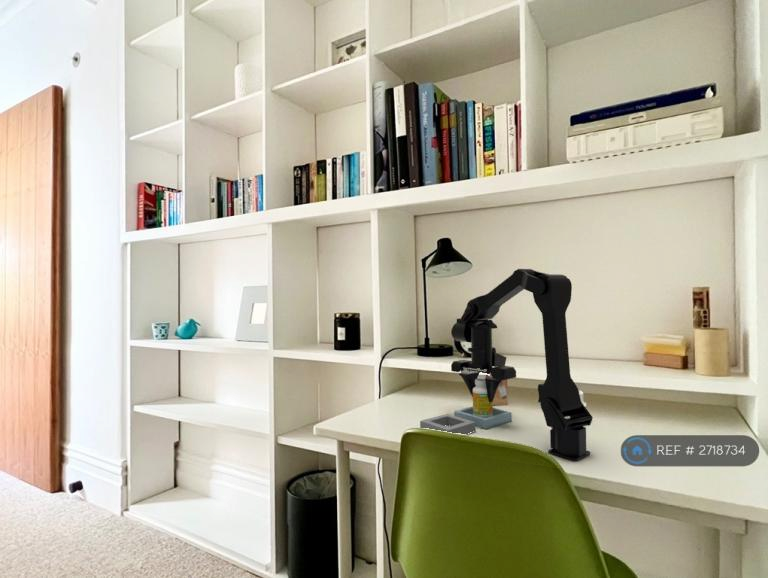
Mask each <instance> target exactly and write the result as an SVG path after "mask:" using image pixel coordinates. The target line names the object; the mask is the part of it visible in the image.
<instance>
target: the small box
mask: <svg viewBox="0 0 768 578" xmlns="http://www.w3.org/2000/svg"><path fill="white" fill-rule="evenodd" d="M485 378H490V376H488V375H478V377H477V379H485ZM508 394H509V393H508V379H507V380H502V381H501V382H500V384H499V386H498V388H497V391H496V393H495V396H494V399H493V406H503V405H504V406H505V405H508V403H509V402H508V400H509V399H508Z"/></svg>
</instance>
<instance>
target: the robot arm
mask: <svg viewBox="0 0 768 578" xmlns="http://www.w3.org/2000/svg"><path fill="white" fill-rule="evenodd" d="M572 286H573V284H572V282H571V279H570V278H568V277H567V276H566V275H565V274H549V273H545V272H540V271H536V270H534V269H532V268H517V269H516V270H514V271H513V272H512V274H511V275H509V276H508V277H507V278H505V279H504V280H502V281H501V283H500V284H498V285H497V286H495V287H494V288H493V289H492V290H490V291H489V292H488V293H485V294H483V295H480V296H476V297H475V298H472V299H470V300H469V301H468V302H467V304H466V306H465V307H466V308H465V309H464V312H463V314H462V316H461V318H456V322H455V323H454V324H453V326H452V328H451V332H450V333H451V337H452V339H454V340H455V341H456V342H457V341H458V342H465V343H470V347H468V352H469V353H470V355H471V360H469V359H468V360H467V359H460V360H459V359H458V360H454V361H452V363H451V366H450V369H451V372H455V373H458V375H459V376H460V377H461V378H462V380H463V382H464V383H465V385H466V387H467V389H468V391H469V394H470V395H471V397H472V398H473V388H474V387H476V385H475V379H477V377H478V375H479V373H480V372H482V373H487V374H490V378H485V382H486V389H487V395H488V400H489V402H493V399H494V396H495V393H496V391H497V388H498V386H499V384H500V382H501V381H502V380H507V381H508V380H511V379H516V378H517V370H516V369H515V367H514V366H509V365H506V363H507V356H505V355H502V354H499V353H497V349H496V347H493V330H492V329H498V325H497V323H494V321H493V320H492V319H494V318H495V317H496V315H497V314H498V313H499V312H500V308H501V306H503V305H504V304H505V303H507V302H508V301H509V300H511V299H512V298H514V297H515V296H517V295H518V294H520V292H522V291H524V290H525V291H527V292H530V293H532V296H533V302H534V304H535V305H536V306H537V308H538V310H539V311H540V313H541V316H542V317H541V319H542V328H543V343H544V344H543V345H544V356H545V357H544V358H545V368H546V378H545V380H544V383H539V384H538V385H537V392H538V400H537V402H538V403H540V409H541V412H542V413H543V417H544V420H545V424H546V426H547V427H549V428H551V429H550V430H549V433H550V435H549V437H550V439H549V440H550V444H549V445H550V449H549V450H548V453H549V454H550V455H553V456H554V455H555V456H558V457H562V458H564V459H568V460H571V461H573V462H577V461H579V460H582V459H583V458H585V457H588V456H590V455H591V451H589V450H587V427H589V426H591V424H592V421H593V415H592V414H591V413H590V412H589V411H588V408H587V407H586V408H585V406H584V405H583V404H582V402H581V399H580V395H579V391H580V390H579V387H578V386H577V385H576V383H575V381H574V380H573V378H572V377H571V369H570V368H571V366H570V353H569V343H568V330H567V329H568V328H567V319H566V318H567V317H566V314H567V313H566V312H567V310H568V309H569V308H568V307H569V306H570V303H571V301H572V290H573V288H572ZM567 416H570V418H567ZM565 417H566V418H565Z"/></svg>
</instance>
